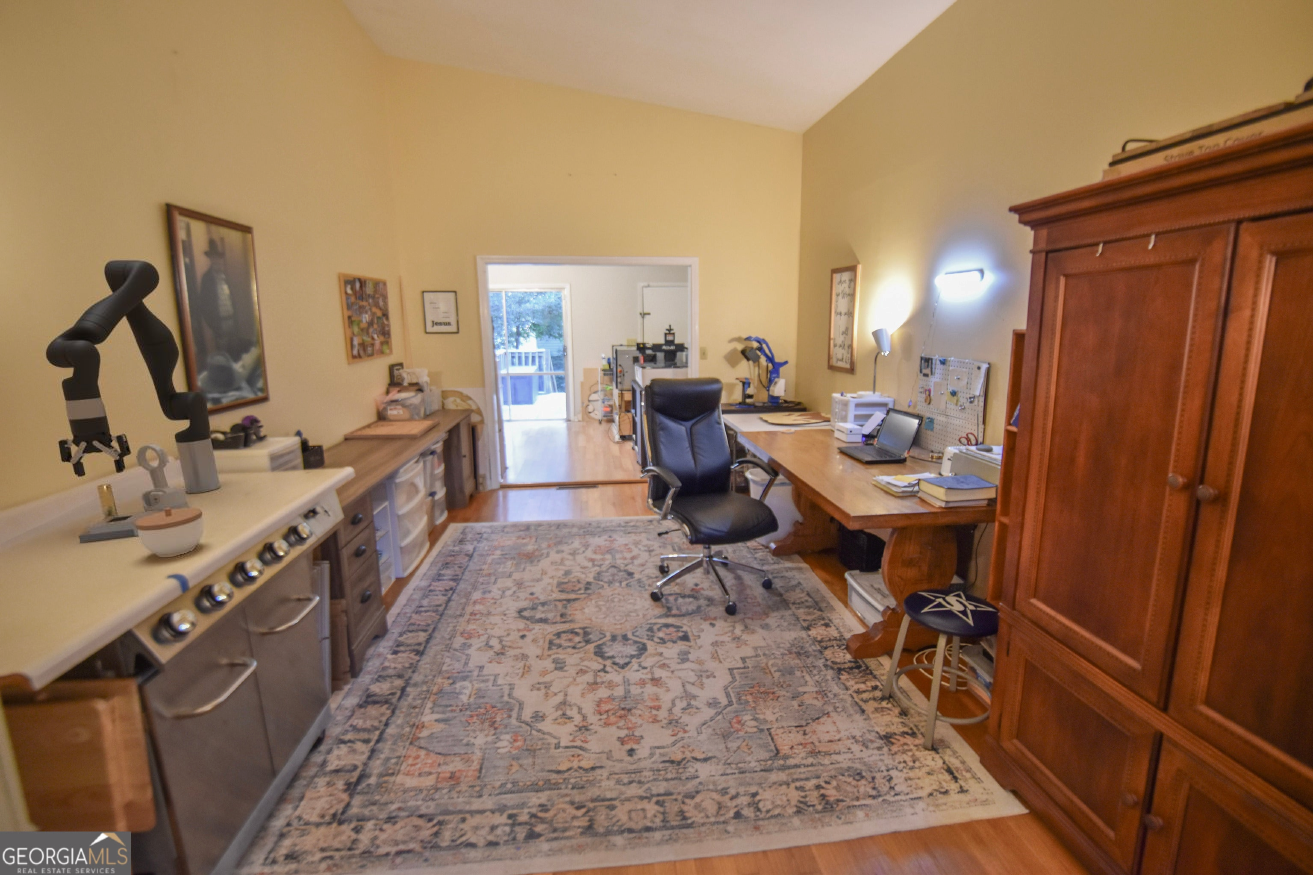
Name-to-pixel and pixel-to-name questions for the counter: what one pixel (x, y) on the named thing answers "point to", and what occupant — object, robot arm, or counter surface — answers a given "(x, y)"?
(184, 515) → the lidded bowl
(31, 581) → the counter surface
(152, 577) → the counter surface
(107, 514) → the brass pin
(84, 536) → the gray slotted plate
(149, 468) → the engine component
